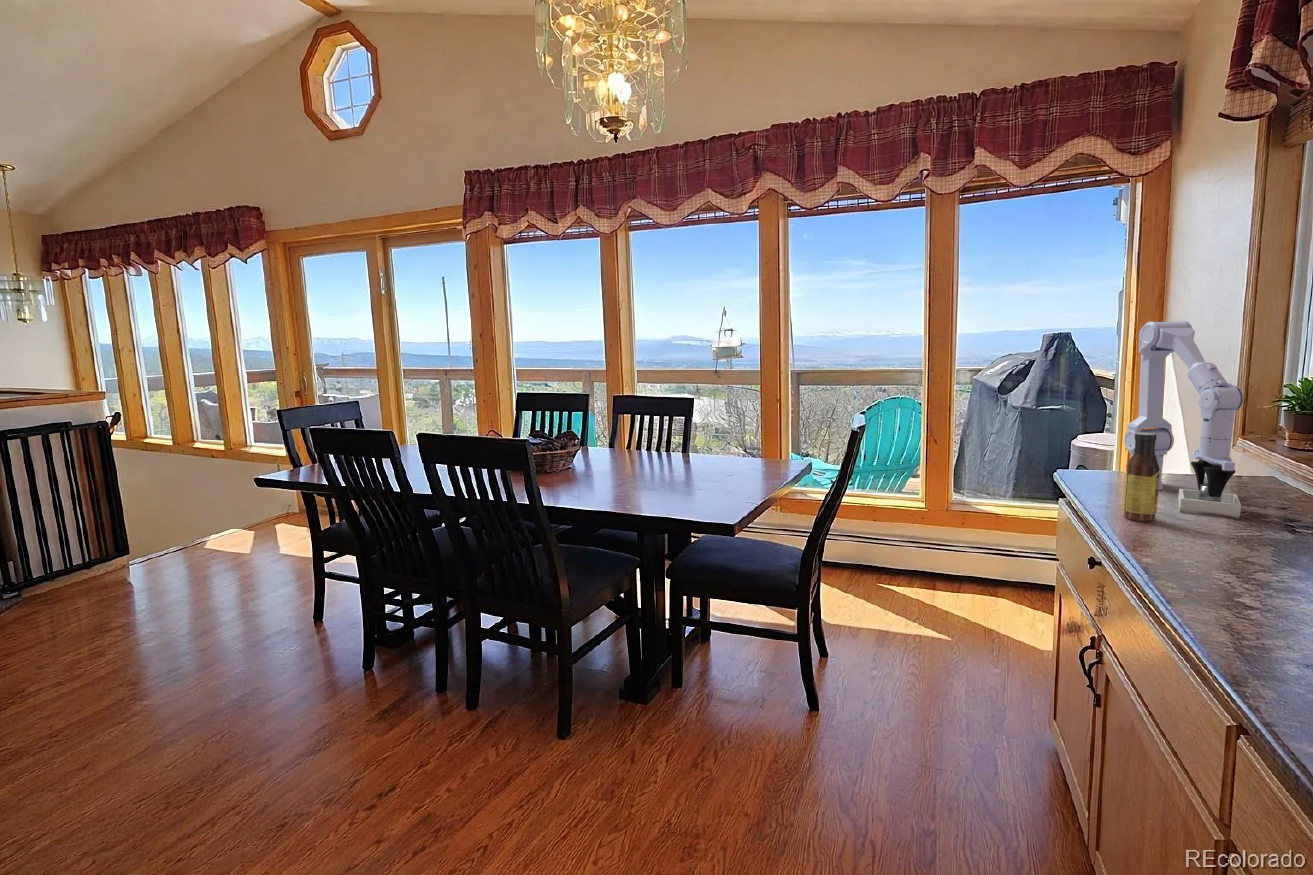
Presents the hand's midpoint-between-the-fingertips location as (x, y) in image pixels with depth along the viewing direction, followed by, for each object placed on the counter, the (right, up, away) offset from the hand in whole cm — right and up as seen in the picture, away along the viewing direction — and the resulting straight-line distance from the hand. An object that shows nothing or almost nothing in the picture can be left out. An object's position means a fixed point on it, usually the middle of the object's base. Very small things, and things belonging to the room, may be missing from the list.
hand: (1209, 494), depth 167 cm
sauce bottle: (-20, -5, -5) cm, 22 cm away
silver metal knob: (0, -2, 0) cm, 2 cm away
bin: (0, -4, +1) cm, 4 cm away
